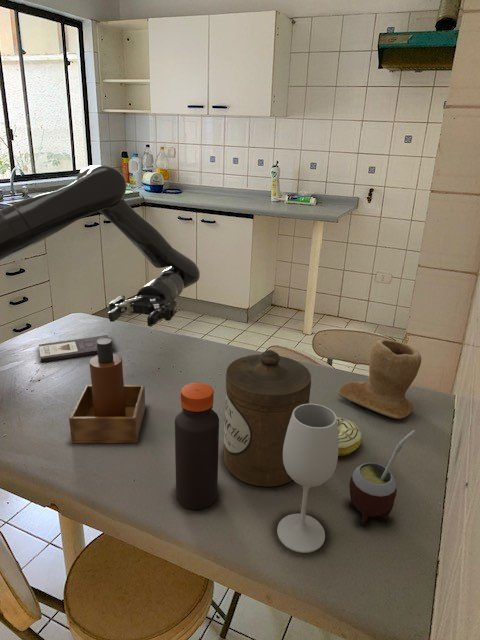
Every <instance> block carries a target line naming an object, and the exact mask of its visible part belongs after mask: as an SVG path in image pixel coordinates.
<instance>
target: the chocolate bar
mask: <svg viewBox="0 0 480 640" xmlns="http://www.w3.org/2000/svg"><path fill="white" fill-rule="evenodd" d="M102 338H109V335H108V334H105V335H97V336H91V337H84V338H76V339H70V340H69V339H68V340H61V341H54V342H47V343H41V344H38V349H39V356H40V362H41V363H46V362H52V361H58V360H64V359H65V360H66V359H72V358H78V357H84V356H91V355H98V353H97V340H99V339H102ZM109 339H110V338H109ZM112 347H113V352H115V349H114V346H113V345H112Z"/></svg>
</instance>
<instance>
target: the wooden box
mask: <svg viewBox="0 0 480 640" xmlns="http://www.w3.org/2000/svg"><path fill="white" fill-rule="evenodd" d="M145 387H146V386H145V385H144V384H141V385H140V384H124V397H125V412H126V417H95V415H94V405H93V394H92V384H85V386H84V387H83V389H82V391H81V392H80V393H81V394H80V396H79V398H78V399H77V401H76V403H75V405H74V407H73V409H72V412H70V413H71V414H70V415H69V418H68V421H69V423H68V424H69V431H70V437H71V439H70V440H71V444H138V440H139V435H140V431H141V427H142V424H143V419H144V415H145V411H146V395H145V394H146V392H145Z"/></svg>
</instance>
